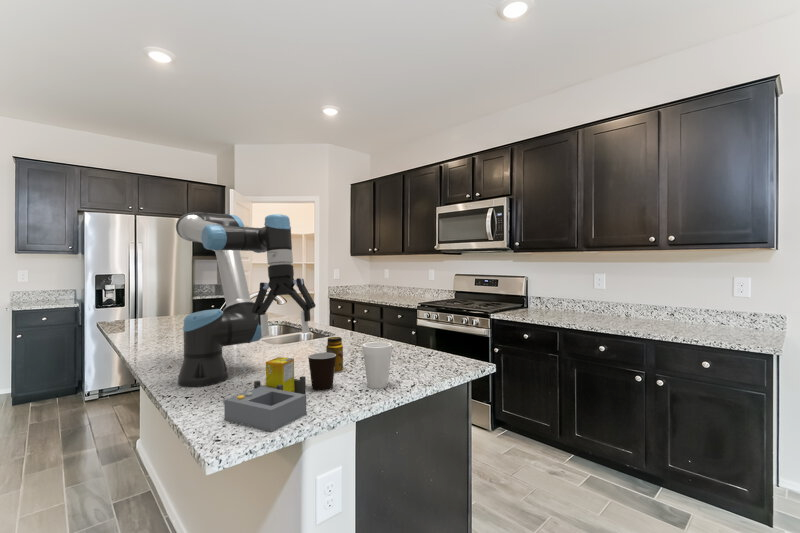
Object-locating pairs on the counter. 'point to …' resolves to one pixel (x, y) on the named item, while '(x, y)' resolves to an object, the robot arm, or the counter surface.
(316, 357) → the coffee mug
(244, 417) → the port
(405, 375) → the counter surface
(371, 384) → the foam cup
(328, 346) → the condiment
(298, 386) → the dark grey rack
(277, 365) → the supplement box
